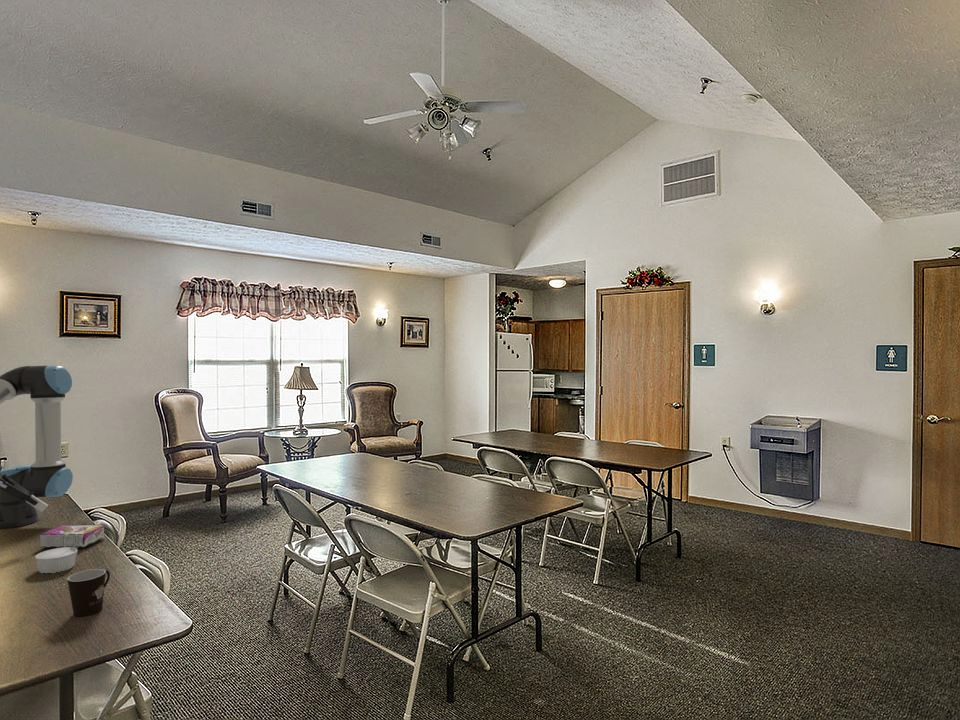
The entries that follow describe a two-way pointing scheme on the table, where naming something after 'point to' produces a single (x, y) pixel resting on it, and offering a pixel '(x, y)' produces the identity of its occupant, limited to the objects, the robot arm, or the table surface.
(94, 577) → the coffee mug
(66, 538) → the candy bar box
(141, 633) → the table surface
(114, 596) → the table surface
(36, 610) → the table surface
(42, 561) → the ramekin
